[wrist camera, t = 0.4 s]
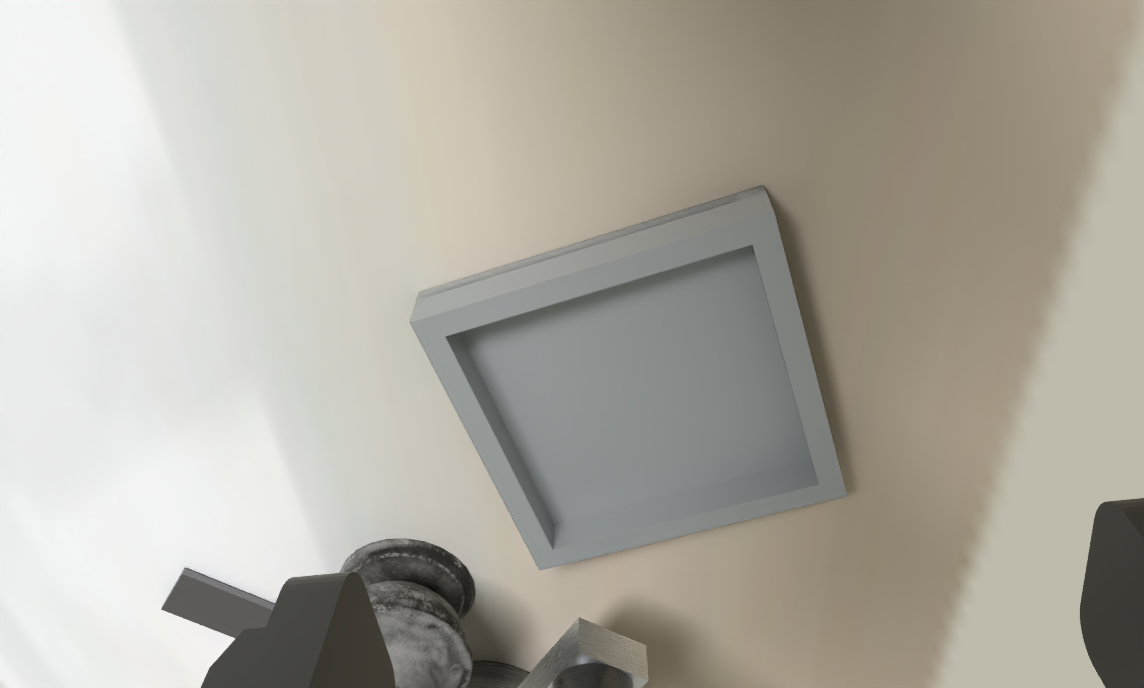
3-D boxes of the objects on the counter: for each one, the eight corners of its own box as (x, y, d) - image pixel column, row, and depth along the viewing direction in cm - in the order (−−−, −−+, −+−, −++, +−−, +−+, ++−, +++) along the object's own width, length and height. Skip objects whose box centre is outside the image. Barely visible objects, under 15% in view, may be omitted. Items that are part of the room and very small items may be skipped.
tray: (418, 292, 29) (409, 322, 28) (763, 185, 27) (774, 211, 26) (541, 534, 35) (539, 570, 33) (835, 461, 33) (847, 496, 31)
